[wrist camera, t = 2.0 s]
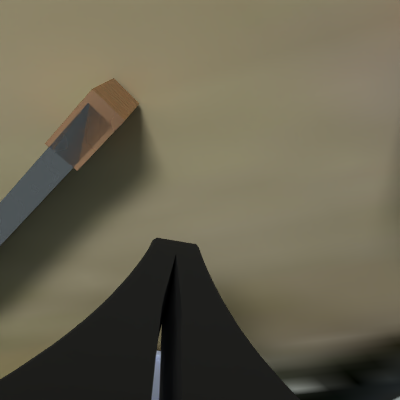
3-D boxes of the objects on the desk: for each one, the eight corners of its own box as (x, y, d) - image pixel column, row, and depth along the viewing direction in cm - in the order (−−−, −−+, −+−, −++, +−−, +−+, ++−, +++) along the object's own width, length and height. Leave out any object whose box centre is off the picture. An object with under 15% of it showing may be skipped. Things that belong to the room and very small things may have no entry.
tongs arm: (-25, 276, 21) (-64, 319, 18) (-48, 261, 20) (-94, 302, 17) (139, 103, 16) (124, 120, 13) (113, 78, 16) (91, 89, 12)
